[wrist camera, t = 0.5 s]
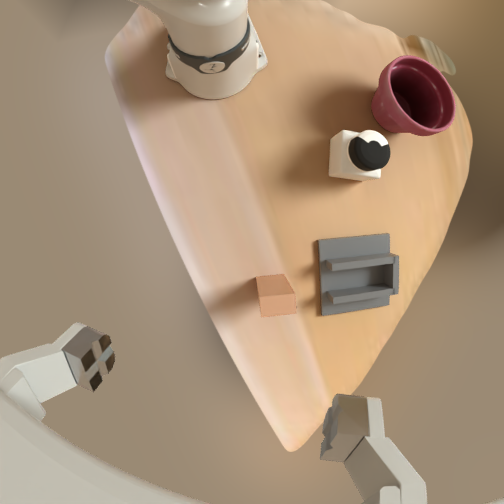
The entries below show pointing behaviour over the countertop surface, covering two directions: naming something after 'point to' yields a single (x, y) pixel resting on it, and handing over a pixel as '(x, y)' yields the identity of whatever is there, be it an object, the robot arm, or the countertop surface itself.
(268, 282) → the tall tan pillar block
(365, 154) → the medicine bottle
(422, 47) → the countertop surface
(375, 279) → the rack
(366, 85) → the countertop surface
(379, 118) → the plant pot
